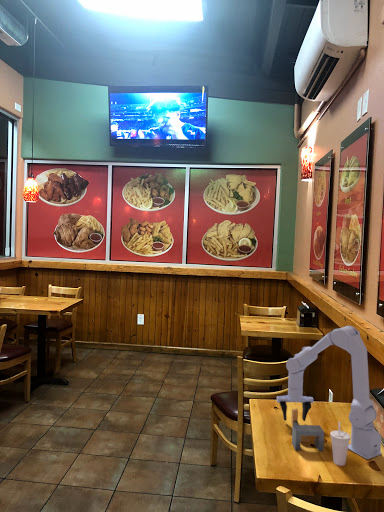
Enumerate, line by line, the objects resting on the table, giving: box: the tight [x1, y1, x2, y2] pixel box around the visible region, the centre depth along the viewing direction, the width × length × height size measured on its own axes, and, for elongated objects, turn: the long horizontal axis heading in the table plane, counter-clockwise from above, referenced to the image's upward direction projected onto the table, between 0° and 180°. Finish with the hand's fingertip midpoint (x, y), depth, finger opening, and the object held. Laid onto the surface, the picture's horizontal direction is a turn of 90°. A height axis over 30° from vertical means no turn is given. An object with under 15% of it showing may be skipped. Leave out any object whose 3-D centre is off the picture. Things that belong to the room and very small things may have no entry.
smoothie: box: [329, 421, 351, 466], centre depth 137 cm, size 6×6×14 cm
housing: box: [291, 424, 325, 452], centre depth 147 cm, size 5×10×7 cm, turn 90°
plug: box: [291, 408, 311, 443], centre depth 159 cm, size 16×4×6 cm, turn 0°
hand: (294, 419), depth 166 cm, fingers open, 7 cm apart
